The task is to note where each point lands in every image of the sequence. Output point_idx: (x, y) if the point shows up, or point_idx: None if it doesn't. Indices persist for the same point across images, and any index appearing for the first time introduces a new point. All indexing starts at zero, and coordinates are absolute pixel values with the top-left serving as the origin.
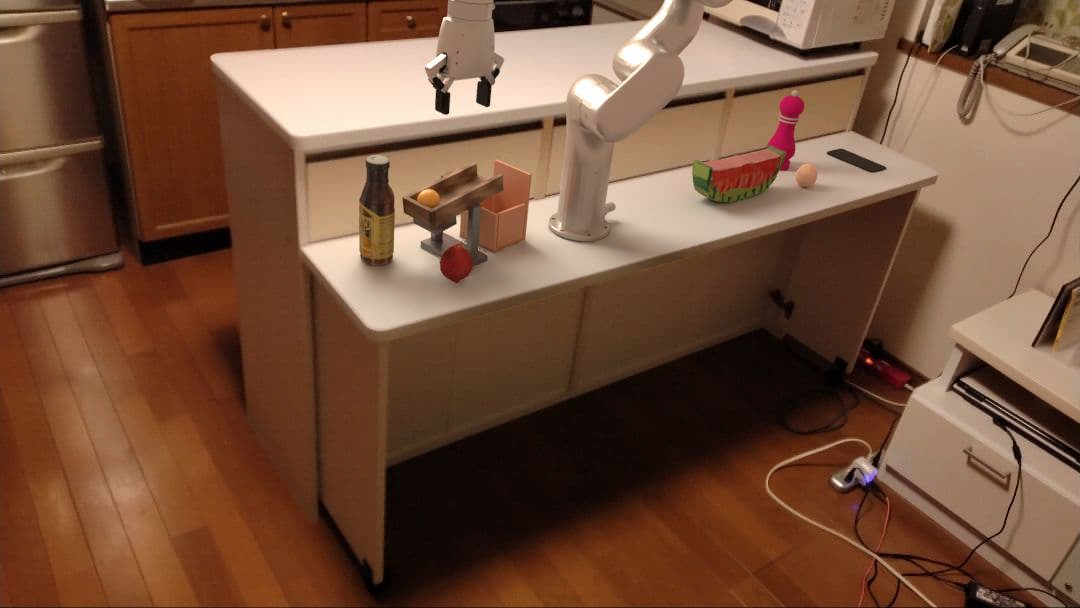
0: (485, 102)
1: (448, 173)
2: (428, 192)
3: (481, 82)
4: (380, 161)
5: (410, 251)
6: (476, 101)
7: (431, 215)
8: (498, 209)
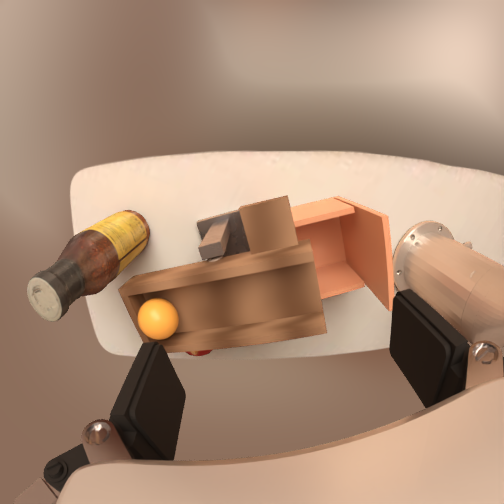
0: (397, 355)
1: (258, 211)
2: (149, 333)
3: (450, 370)
4: (46, 311)
5: (179, 227)
6: (395, 299)
7: None
8: (347, 217)
